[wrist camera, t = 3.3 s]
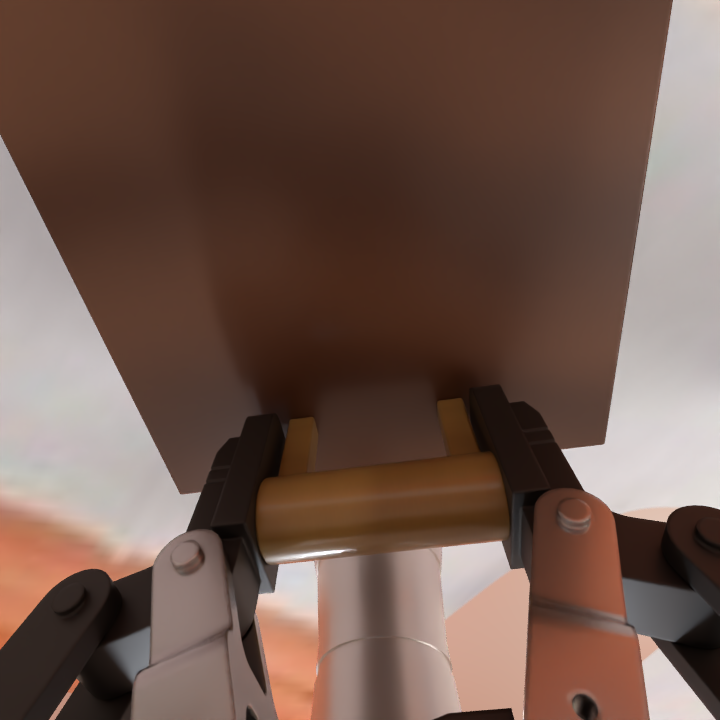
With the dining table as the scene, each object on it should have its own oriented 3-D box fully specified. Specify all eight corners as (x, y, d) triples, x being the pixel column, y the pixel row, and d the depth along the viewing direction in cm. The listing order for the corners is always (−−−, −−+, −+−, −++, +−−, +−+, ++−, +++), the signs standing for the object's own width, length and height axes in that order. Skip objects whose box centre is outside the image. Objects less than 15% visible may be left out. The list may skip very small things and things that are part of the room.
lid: (594, 429, 14) (694, 573, 10) (187, 478, 14) (121, 629, 10) (722, -507, 6) (1561, -1877, 2) (-173, -274, 7) (-973, -825, 3)
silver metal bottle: (332, 443, 24) (271, 1347, 7) (452, 470, 25) (664, 1316, 8) (304, 523, 27) (213, 1281, 10) (411, 544, 28) (498, 1262, 11)
